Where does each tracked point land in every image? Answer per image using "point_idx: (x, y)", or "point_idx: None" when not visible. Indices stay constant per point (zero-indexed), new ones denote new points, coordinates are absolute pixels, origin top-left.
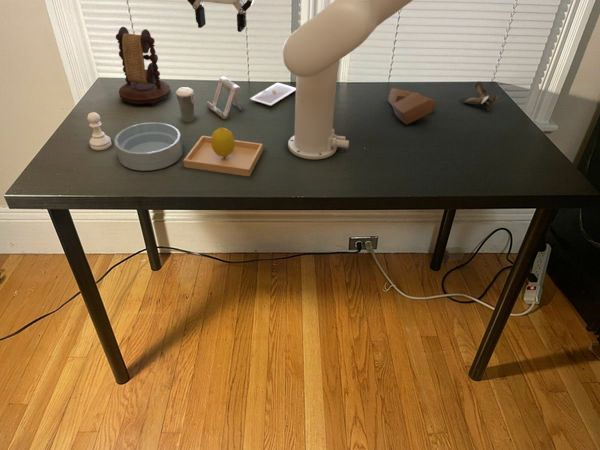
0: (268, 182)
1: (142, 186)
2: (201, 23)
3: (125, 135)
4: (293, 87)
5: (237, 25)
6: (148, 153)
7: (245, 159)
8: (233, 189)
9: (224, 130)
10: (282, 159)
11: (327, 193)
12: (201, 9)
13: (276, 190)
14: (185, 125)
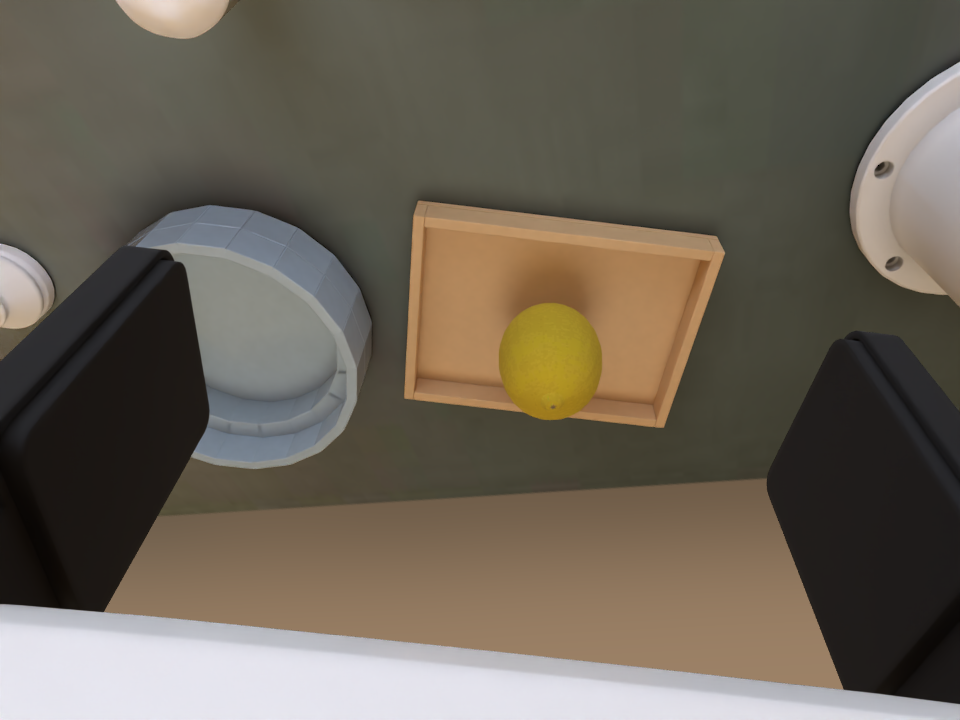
0: (728, 428)
1: (320, 474)
2: (186, 438)
3: None
4: None
5: (793, 549)
6: (289, 464)
7: (639, 325)
8: (608, 467)
9: (565, 407)
10: (801, 291)
11: None
12: (64, 565)
13: (752, 461)
14: (259, 27)
